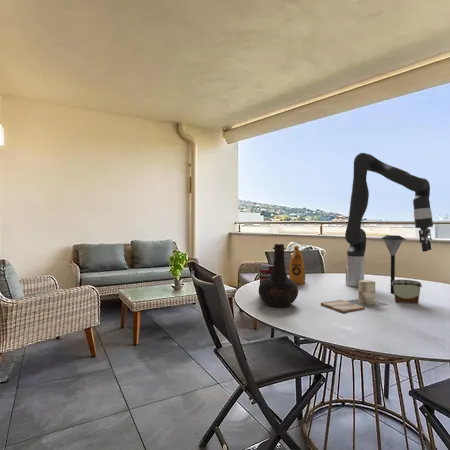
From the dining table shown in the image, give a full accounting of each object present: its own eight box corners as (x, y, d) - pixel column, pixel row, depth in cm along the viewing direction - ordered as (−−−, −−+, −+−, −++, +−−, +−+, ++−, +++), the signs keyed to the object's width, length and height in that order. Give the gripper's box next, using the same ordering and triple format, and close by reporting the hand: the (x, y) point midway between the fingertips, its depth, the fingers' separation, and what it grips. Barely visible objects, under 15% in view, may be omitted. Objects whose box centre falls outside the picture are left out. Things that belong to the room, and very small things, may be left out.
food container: (418, 301, 153) (418, 280, 152) (421, 304, 147) (422, 282, 146) (389, 299, 157) (389, 278, 156) (391, 302, 151) (391, 281, 150)
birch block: (358, 301, 151) (358, 280, 151) (366, 300, 153) (366, 279, 153) (367, 304, 147) (367, 282, 146) (375, 303, 149) (375, 281, 148)
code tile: (345, 301, 153) (345, 300, 153) (365, 298, 158) (365, 297, 158) (367, 308, 141) (367, 308, 141) (388, 304, 147) (388, 304, 147)
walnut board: (320, 304, 148) (320, 302, 148) (340, 301, 153) (340, 299, 153) (343, 313, 135) (343, 310, 135) (364, 309, 140) (364, 307, 140)
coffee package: (287, 283, 192) (287, 247, 192) (289, 279, 204) (289, 245, 204) (304, 284, 190) (304, 247, 189) (305, 280, 202) (305, 245, 201)
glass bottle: (252, 301, 154) (251, 243, 153) (283, 297, 161) (283, 241, 160) (271, 312, 137) (271, 246, 136) (306, 307, 144) (306, 244, 143)
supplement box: (259, 296, 163) (259, 265, 162) (260, 294, 168) (260, 264, 167) (276, 297, 161) (276, 265, 161) (277, 295, 166) (277, 264, 165)
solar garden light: (379, 294, 165) (380, 236, 164) (379, 289, 176) (379, 234, 175) (406, 297, 160) (407, 236, 159) (405, 291, 171) (405, 235, 170)
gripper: (417, 218, 167) (421, 250, 166) (411, 218, 157) (415, 252, 156) (434, 217, 162) (438, 249, 161) (429, 217, 152) (433, 251, 151)
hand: (427, 250), depth 158 cm, fingers open, 8 cm apart
